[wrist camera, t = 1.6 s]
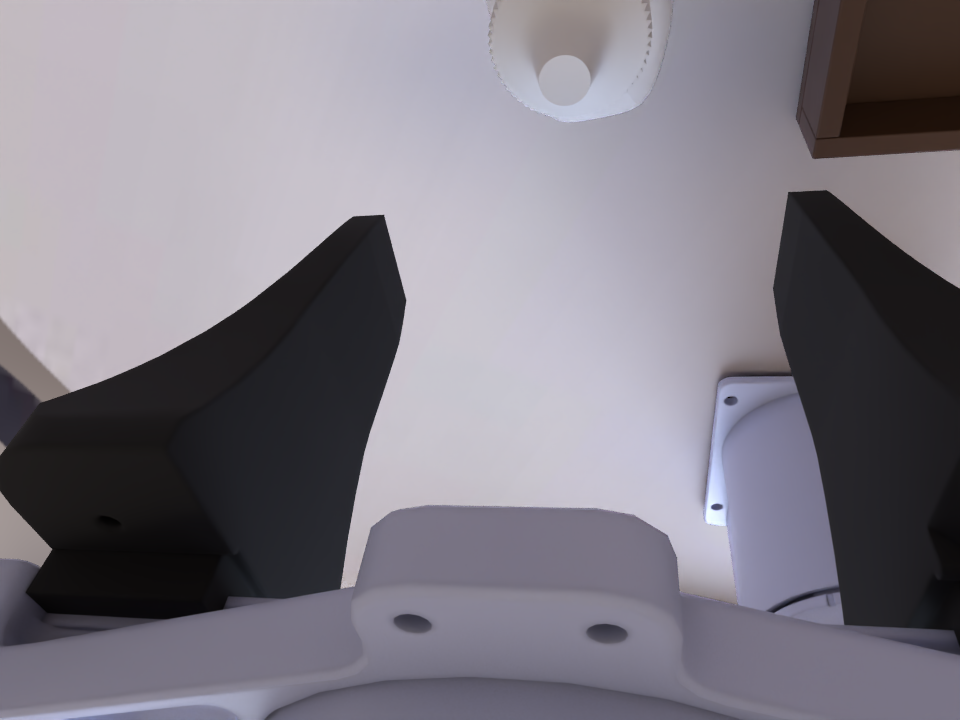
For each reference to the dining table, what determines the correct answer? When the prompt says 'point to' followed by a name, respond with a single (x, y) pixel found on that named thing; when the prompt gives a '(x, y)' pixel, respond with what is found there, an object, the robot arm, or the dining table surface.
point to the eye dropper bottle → (579, 53)
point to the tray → (881, 78)
